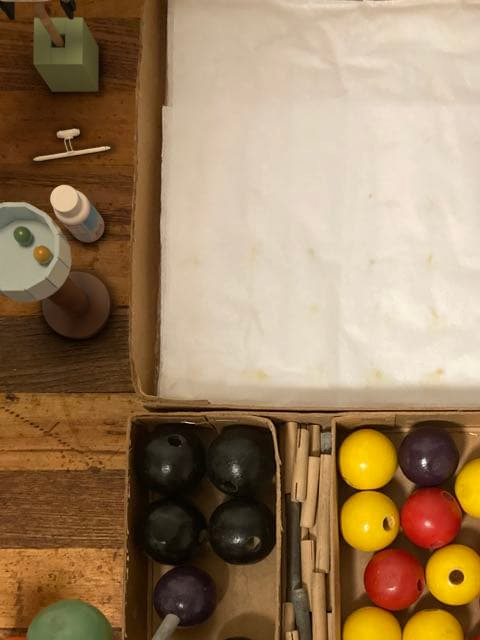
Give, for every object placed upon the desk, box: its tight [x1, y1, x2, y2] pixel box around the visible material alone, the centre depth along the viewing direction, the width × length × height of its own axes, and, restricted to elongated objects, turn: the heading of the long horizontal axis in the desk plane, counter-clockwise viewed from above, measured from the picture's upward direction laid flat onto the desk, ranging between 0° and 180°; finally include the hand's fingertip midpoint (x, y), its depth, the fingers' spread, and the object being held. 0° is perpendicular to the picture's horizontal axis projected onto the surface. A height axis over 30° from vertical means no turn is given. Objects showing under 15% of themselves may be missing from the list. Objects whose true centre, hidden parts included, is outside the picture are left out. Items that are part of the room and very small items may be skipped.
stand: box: [32, 17, 100, 93], centre depth 149 cm, size 8×8×8 cm
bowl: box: [0, 201, 72, 303], centre depth 127 cm, size 13×13×5 cm
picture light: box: [32, 128, 111, 162], centre depth 151 cm, size 14×4×2 cm, turn 100°
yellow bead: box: [33, 245, 52, 264], centre depth 127 cm, size 3×3×3 cm
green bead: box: [13, 226, 32, 244], centre depth 128 cm, size 3×3×3 cm
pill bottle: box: [49, 184, 105, 243], centre depth 146 cm, size 6×6×11 cm
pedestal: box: [41, 270, 113, 340], centre depth 140 cm, size 12×12×21 cm
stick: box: [33, 3, 65, 48], centre depth 145 cm, size 2×2×16 cm
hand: (42, 11), depth 138 cm, fingers open, 9 cm apart
